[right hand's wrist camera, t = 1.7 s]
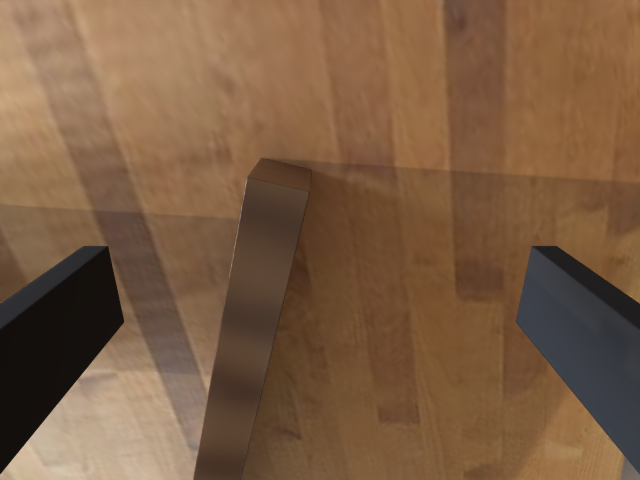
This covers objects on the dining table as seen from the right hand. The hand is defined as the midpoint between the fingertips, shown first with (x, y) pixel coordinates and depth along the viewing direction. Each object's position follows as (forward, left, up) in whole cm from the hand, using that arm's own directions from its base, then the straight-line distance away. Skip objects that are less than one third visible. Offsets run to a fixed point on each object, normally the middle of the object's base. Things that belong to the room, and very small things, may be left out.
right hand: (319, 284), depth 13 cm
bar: (-6, -32, -26) cm, 41 cm away
